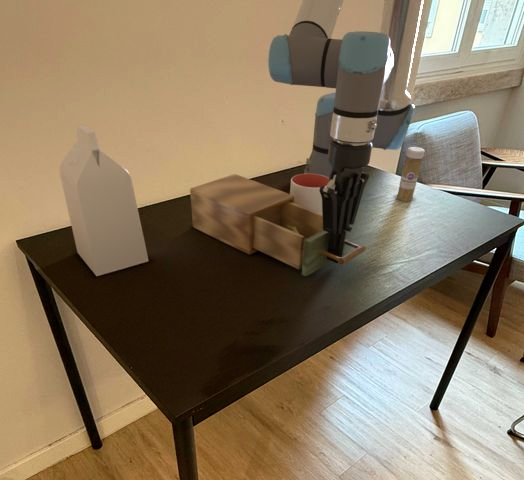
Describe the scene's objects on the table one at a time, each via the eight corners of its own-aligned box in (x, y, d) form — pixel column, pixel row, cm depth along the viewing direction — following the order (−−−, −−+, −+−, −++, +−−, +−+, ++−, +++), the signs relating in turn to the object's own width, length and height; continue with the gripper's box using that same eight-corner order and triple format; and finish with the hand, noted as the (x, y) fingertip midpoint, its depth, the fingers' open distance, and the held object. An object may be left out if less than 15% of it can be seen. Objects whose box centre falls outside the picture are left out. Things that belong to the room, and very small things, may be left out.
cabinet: (291, 234, 109) (294, 195, 103) (249, 255, 101) (250, 214, 95) (235, 210, 119) (234, 173, 113) (192, 227, 111) (189, 188, 105)
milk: (148, 261, 97) (128, 132, 81) (96, 276, 92) (63, 141, 75) (126, 239, 105) (104, 117, 88) (77, 252, 100) (43, 125, 83)
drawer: (369, 265, 97) (376, 231, 92) (332, 289, 89) (337, 253, 84) (281, 228, 110) (283, 196, 105) (242, 246, 102) (242, 213, 97)
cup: (282, 223, 114) (285, 183, 107) (295, 208, 121) (298, 170, 114) (320, 230, 111) (325, 190, 105) (331, 215, 118) (336, 177, 112)
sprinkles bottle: (399, 201, 127) (410, 151, 118) (394, 195, 130) (405, 146, 122) (415, 201, 127) (427, 151, 118) (409, 195, 131) (421, 146, 122)
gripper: (347, 152, 73) (329, 278, 88) (389, 137, 81) (366, 255, 96) (311, 142, 77) (300, 264, 92) (354, 129, 85) (337, 243, 100)
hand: (333, 259), depth 94 cm, fingers closed
